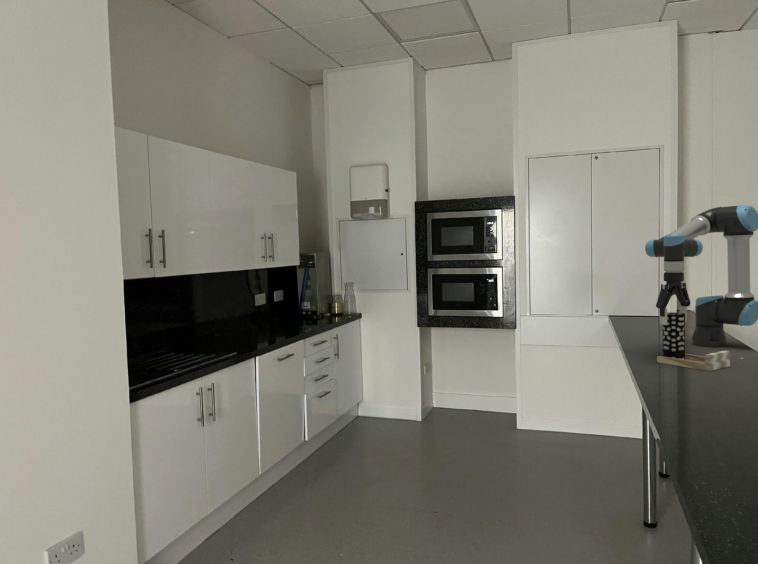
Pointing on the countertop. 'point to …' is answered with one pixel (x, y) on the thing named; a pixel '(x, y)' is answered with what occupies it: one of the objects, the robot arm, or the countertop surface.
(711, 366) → the guide channel
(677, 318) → the white-spotted black cylinder
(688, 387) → the countertop surface
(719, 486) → the countertop surface
